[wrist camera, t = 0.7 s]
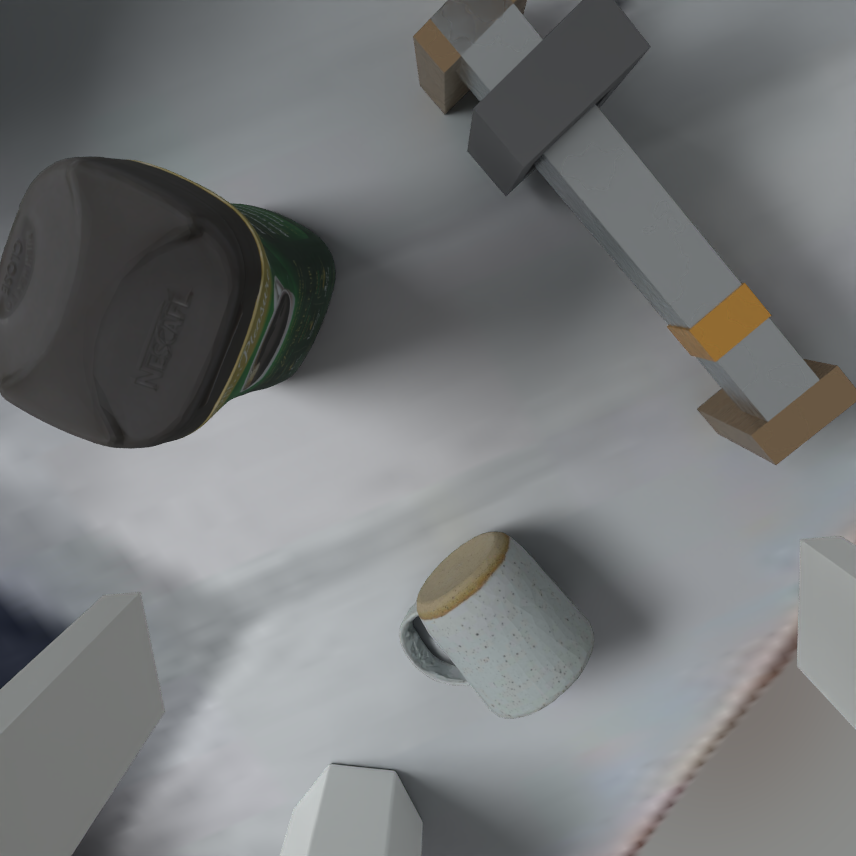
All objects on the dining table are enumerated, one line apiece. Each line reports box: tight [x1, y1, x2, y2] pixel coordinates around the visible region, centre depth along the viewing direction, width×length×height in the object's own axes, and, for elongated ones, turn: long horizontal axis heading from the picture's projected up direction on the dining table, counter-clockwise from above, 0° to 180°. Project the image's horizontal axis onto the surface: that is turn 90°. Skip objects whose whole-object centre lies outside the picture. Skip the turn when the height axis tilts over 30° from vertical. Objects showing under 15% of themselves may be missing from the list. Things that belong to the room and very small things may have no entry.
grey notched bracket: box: [468, 0, 651, 196], centre depth 29 cm, size 3×6×8 cm, turn 132°
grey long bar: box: [413, 0, 856, 465], centre depth 33 cm, size 26×5×7 cm, turn 43°
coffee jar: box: [0, 157, 335, 448], centre depth 29 cm, size 10×8×19 cm
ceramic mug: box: [399, 532, 594, 719], centre depth 38 cm, size 11×8×8 cm
